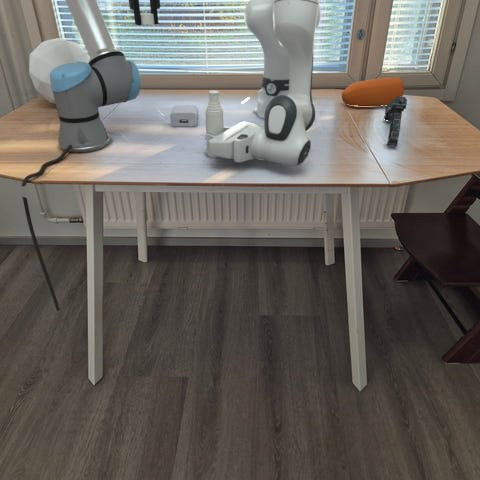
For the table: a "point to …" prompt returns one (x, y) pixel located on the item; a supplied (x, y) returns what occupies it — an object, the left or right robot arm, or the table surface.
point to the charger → (184, 116)
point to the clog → (373, 92)
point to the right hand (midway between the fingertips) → (212, 133)
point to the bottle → (214, 117)
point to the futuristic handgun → (395, 118)
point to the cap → (147, 18)
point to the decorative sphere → (52, 62)
